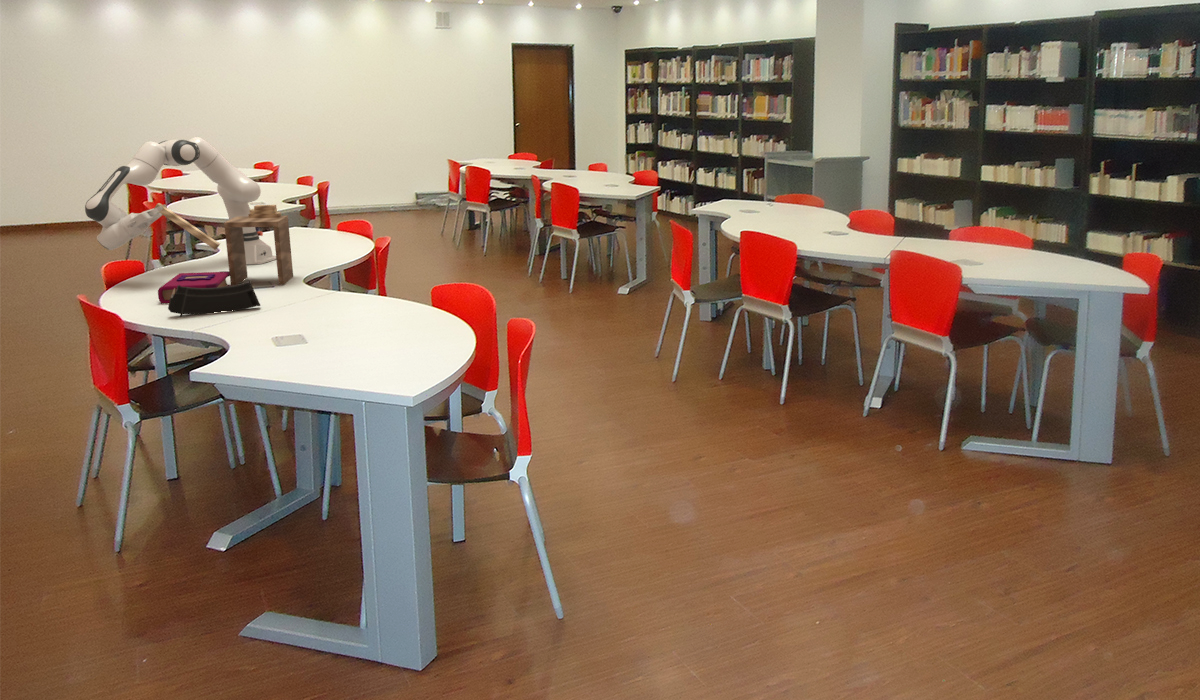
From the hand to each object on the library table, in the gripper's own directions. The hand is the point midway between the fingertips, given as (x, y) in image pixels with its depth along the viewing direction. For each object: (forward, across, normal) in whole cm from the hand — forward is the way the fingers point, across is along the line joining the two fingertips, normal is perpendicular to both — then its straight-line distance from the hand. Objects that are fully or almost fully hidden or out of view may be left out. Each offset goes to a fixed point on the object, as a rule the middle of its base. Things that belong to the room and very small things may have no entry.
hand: (163, 206), depth 391 cm
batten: (+2, 0, +12) cm, 12 cm away
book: (-1, -26, +36) cm, 45 cm away
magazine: (+12, -58, +44) cm, 74 cm away
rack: (+16, 0, +45) cm, 48 cm away
